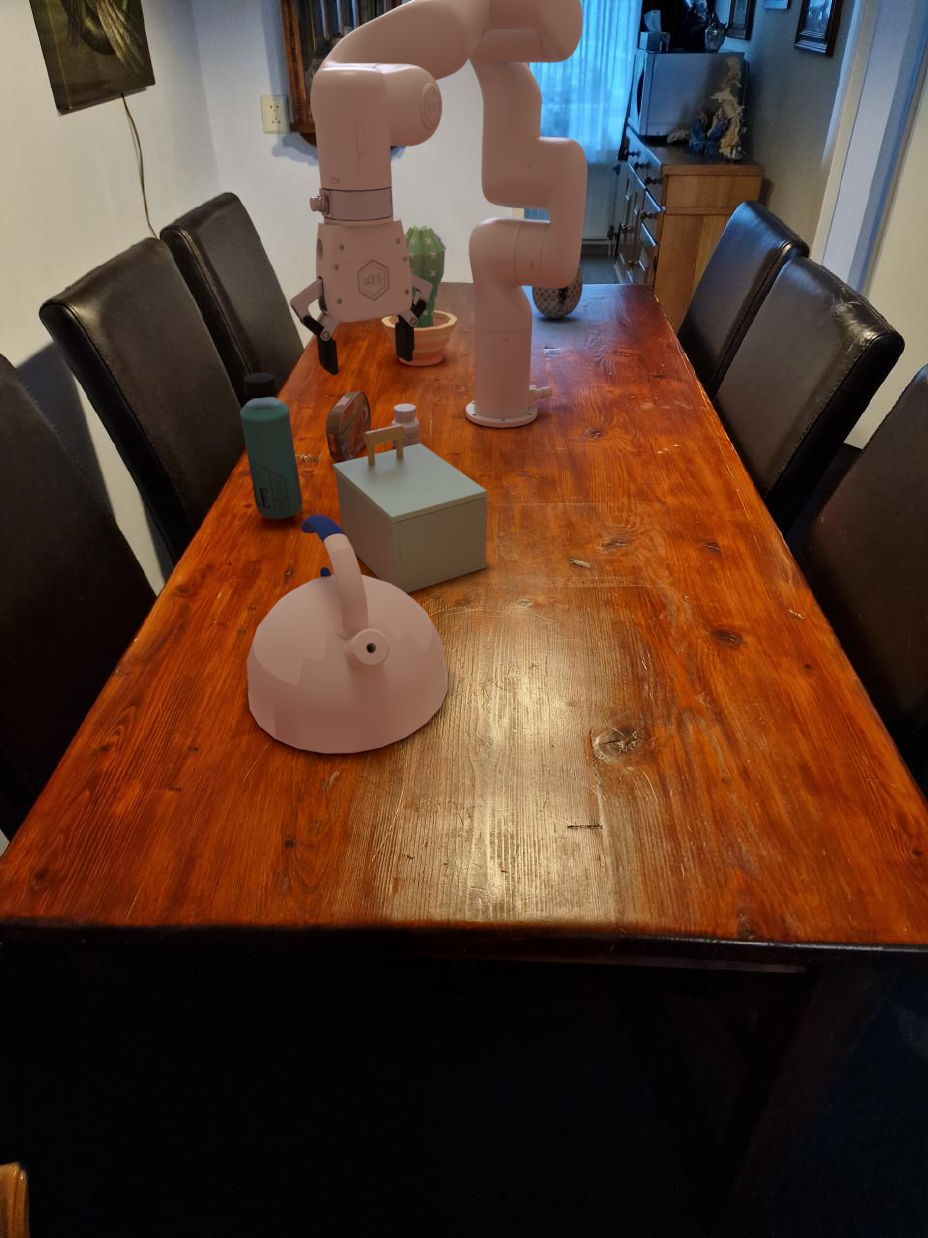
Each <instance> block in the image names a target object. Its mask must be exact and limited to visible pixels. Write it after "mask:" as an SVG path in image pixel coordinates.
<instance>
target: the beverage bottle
mask: <svg viewBox="0 0 928 1238" xmlns="http://www.w3.org/2000/svg"><path fill="white" fill-rule="evenodd" d="M243 387H244V388H243V391H244V392H243V393H244V396H245V397H247V398H250V400H248V401H247V402H246V403H245V404H244V406H243V407H242V408H241V410H240V412H239V418H240V420H241V425H242V430H243V438H244V441H245V442H244V447H245V448H244V449H245V451H246V455H247V456H246V457H247V460H248V461H247V462H248V467H249V473H250V479H251V487H252V489H251V491H252V492H253V494H252V496H253V501H254V508H255V509H256V511H257V512H258V514H259V515H260V516H261V517H263V518H266V519H271V520H279V519H286V518H290V517H293V516H295V515H297V514H298V513H299V512H301V511H302V507H303V494H302V492H303V491H302V485H301V481H300V480H301V479H300V474H299V473H300V472H299V469H298V462H297V455H296V450H295V445H294V436H293V429H292V423H291V416H290V413H291V412H290V408H289V406H288V405H287V404H286V403H284V402H283V401H282V400H280V399H279V398H276V397H274V396H276V395H277V394H278V393H279V388H278V384H277V379H276V376H275V375H274V374H272V373H268V372H255V373H251V374H248V375H246V376H245V377H244V378H243Z"/></svg>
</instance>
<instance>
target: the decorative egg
mask: <svg viewBox="0 0 928 1238" xmlns="http://www.w3.org/2000/svg"><path fill="white" fill-rule="evenodd" d="M583 282H584V281H583V273H582V270H581V267H580V266H579V267H578V271H577V274H576V277H575V279H574V280H573V282H572V283H571V284H570V285H569V286H567V287H565V288H559V289H556V288H542V287H531V294H532V301H533V303H534V306H535V307H536V309H537V311H539V313H540V314H541V315H542V316H544V317H546V318H548V319H552V320H559V319H562V318H565V317H567V316H569V315H570V314H572V313H573V312H574V311H575V310H576V308H577V306H578V305H579V303H580V301H581V298H582V294H583V287H584V286H583Z"/></svg>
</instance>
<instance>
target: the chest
mask: <svg viewBox="0 0 928 1238" xmlns="http://www.w3.org/2000/svg"><path fill="white" fill-rule="evenodd" d="M335 478H336V479H335V480H336V488H337V489H336V490H337V498H338V508H339V517H340V518H339V520H340V528H341V529H342V530H343V532H344V533H345V534H346V537H347V539H348V541H349V542H350V544H351V546H352V548H353V550H354V553H355V556H356V557H358V559H360V561H362V562H363V563H364V564H365V566H366V567H368V569H369V570H371V572H372V573H373V574H374V575H375V576H376V577H377V579H378V580H381V581H384V582H387V583H390V584H392V585H394V586H395V587H397V588H399V589H401V590H402V591H404V592H405V593H406V594H409V593H413V592H415V591H418V590H422V589H424V588H427V587H430V586H434V585H437V584H441V583H443V582H446V581H449V580H452V579H456V578H459V577H462V576H464V575H467V574H468V575H469V574H471V573H473V572H477V571H480V570H483V569H486V568H487V539H488V537H487V535H488V533H487V532H488V528H487V527H488V496H487V497H484V498H480V499H477V500H473V501H470V502H466V503H463V504H459V505H456V506H452V507H448V508H445V509H441V510H438V511H434V512H431V513H427V514H424V515H420V516H417V517H413V518H409V519H406V520H402V521H399V522H395V523H392V522H390V521H389V520H388V519H387V518H386V517H385V516H384V515H383V514H382V513H380V512H379V511H378V510H377V509H376V508H375V507H374V506H373V505H372V504H370V503H369V502H368V501H367V500H366V499H365V498H364V497H363V496H362V495H360V494H359V493H358V492H357V491H356V490H355V489H354V488H353V487H352V486H350V485H349V484H348V483H347V482H346V481H345V480H344V479H343V478H342V477H340V476H339V475H338V474H337V473H336V472H335Z"/></svg>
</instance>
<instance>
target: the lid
mask: <svg viewBox="0 0 928 1238" xmlns="http://www.w3.org/2000/svg"><path fill="white" fill-rule="evenodd" d="M403 438H405V429H404V427H403V425H402V424H398V425H394V426H392V425H390V426H385V427H381V428H376V429H372V430H370V431H367V432H364V434H363V439H364V442H365V445H364V446H366V451H367V452H366V453H367V455H366V456H362V457H358V458H355V459H353V460H349V461H339V462H336V463H333V464H332V471H334V472H335V474H336V473H337V474H338V475H339V476H340V477H342V478H343V479H344V480H345V481H346V482H347V483H348V484H349V485H350V486H352V487H353V488H354V489H355V490H356V491H357V492H358V493H359V494H360V495H362V496H363V497H364V498H365V499H366V500H367V501H368V502H369V503H370V504H372V505H373V506H374V507H375V508H376V509H377V510H378V511H379V512H380V513H382V514H383V515H384V516H385V517H386V518H387V519H388V520H389V521H390V522H392V523H395V522H399V521H402V520H406V519H409V518H413V517H417V516H420V515H424V514H427V513H431V512H434V511H438V510H441V509H445V508H448V507H452V506H456V505H459V504H463V503H466V502H470V501H473V500H477V499H480V498H484V497H487V498H488V490H487V489H486V488H484V487H482V486H481V485H480V484H479V483H478V482H476V481H474V480H473V479H472V478H470V477H468V476H467V475H466V474H465V473H463V472H462V471H460V470H459V469H458V468H456V467H455V466H453V465H452V464H450V463H449V462H448V461H446V460H445V459H443V458H442V457H441V456H439V455H437V454H436V453H435V452H433V451H432V450H430V449H429V448H428V447H427V446H425V445H424V444H422V443H421V442H420V444H416V445H411V446H407V447H403ZM395 440H396V449H395V450H393V449H391V450H387V451H383V452H378V453H375V446H378V445H382V444H386V443H390V442H393V441H395Z"/></svg>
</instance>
